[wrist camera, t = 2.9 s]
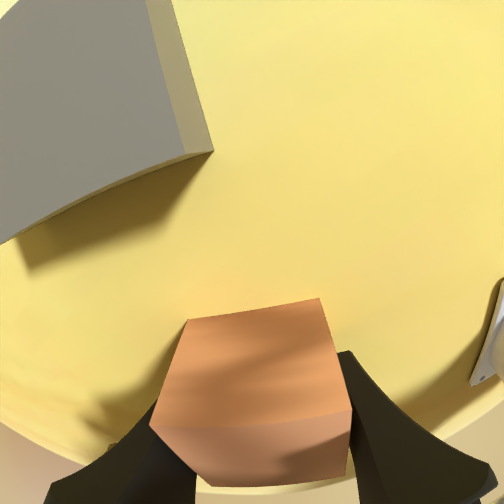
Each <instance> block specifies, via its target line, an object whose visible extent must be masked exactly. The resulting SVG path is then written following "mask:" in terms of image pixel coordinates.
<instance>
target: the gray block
mask: <svg viewBox="0 0 504 504" xmlns="http://www.w3.org/2000/svg"><path fill="white" fill-rule="evenodd" d="M211 151H214V148H213V144H212V141H211V138H210V134H209V131H208V127H207V124H206V120H205V117H204V114H203V110H202V107H201V103H200V100H199V96H198V93H197V89H196V86H195V83H194V79H193V76H192V72H191V69H190V65H189V62H188V58H187V55H186V51H185V48H184V44H183V41H182V37H181V34H180V30H179V26H178V23H177V19H176V16H175V12H174V9H173V5H172V1H171V0H19V1H18V2H17V3H16V4H15V5H14V6H13V7H12V8H11V9H10V10H9V11H8V12H7V13H6V14H5V15H4V16H3V17H2V18H1V19H0V245H1V244H3V243H5V242H7V241H9V240H10V239H12V238H14V237H16V236H18V235H20V234H21V233H23V232H25V231H27V230H29V229H31V228H33V227H35V226H37V225H39V224H41V223H43V222H44V221H46V220H48V219H50V218H52V217H54V216H56V215H57V214H59V213H61V212H63V211H65V210H67V209H69V208H71V207H73V206H75V205H77V204H79V203H81V202H83V201H85V200H87V199H90V198H92V197H94V196H96V195H98V194H100V193H103V192H105V191H107V190H109V189H112V188H114V187H116V186H118V185H121V184H123V183H126V182H128V181H130V180H133V179H135V178H138V177H140V176H143V175H145V174H148V173H151V172H153V171H156V170H158V169H161V168H164V167H167V166H169V165H172V164H175V163H178V162H181V161H184V160H186V159H189V158H192V157H195V156H199V155H202V154H205V153H208V152H211Z"/></svg>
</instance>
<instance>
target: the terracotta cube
mask: <svg viewBox="0 0 504 504" xmlns="http://www.w3.org/2000/svg"><path fill="white" fill-rule="evenodd" d="M351 418H352V407H351V403H350V399H349V396H348V392H347V388H346V385H345V381H344V377H343V374H342V370H341V367H340V363H339V360H338V357H337V353H336V350H335V347H334V343H333V340H332V337H331V333H330V330H329V327H328V324H327V321H326V317H325V314H324V311H323V308H322V305H321V302H320V299H319V298H316V299H311V300H306V301H300V302H295V303H290V304H285V305H279V306H273V307H268V308H262V309H256V310H250V311H244V312H238V313H231V314H224V315H218V316H211V317H204V318H196V319H188V320H187V323H186V325H185V328H184V331H183V333H182V336H181V338H180V341H179V343H178V346H177V349H176V351H175V354H174V357H173V359H172V362H171V365H170V367H169V370H168V373H167V375H166V378H165V381H164V384H163V386H162V389H161V392H160V395H159V397H158V400H157V403H156V406H155V409H154V412H153V414H152V417H151V420H150V423H149V425H150V427H151V428H152V429H153V430H154V431H155V432H156V433H157V434H158V436H159V437H160V438H161V439H162V440H163V441H164V442H165V443H166V444H167V445H168V446H169V447H170V448H171V449H172V450H173V451H174V452H175V453H176V454H177V455H178V456H179V457H180V458H181V459H182V460H183V461H184V462H185V463H186V464H187V465H188V466H189V467H190V468H191V469H192V470H193V471H194V472H196V473H197V474H198V475H199V476H200V477H201V478H202V479H203V480H205V481H206V482H207V483H208V484H209V485H211V486H214V487H263V486H278V485H289V484H298V483H306V482H313V481H319V480H325V479H330V478H336V477H340V476H345V470H346V463H347V456H348V448H349V439H350V429H351Z"/></svg>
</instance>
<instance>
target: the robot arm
mask: <svg viewBox="0 0 504 504" xmlns="http://www.w3.org/2000/svg"><path fill="white" fill-rule="evenodd" d="M337 357H338V360H339V363H340V367H341V370H342V374H343V377H344V381H345V385H346V388H347V392H348V396H349V399H350V403H351V407H352V418H351V429H350V439H349V447H350V450H351V454H352V457H353V461H354V466H355V472H356V478H357V484H358V491H359V499H360V504H481V502H480V498H481V497H483V496H484V495H486V494H487V493H489V492H490V491H491V490H493V489H494V488H496V487H497V485H498V481H497V479H496V476H495V474H494V472H493V470H492V469H491V467H490V465H489V464H488V463H486V462H483V461H481V460H478V459H476V458H473V457H471V456H469V455H467V454H465V453H463V452H461V451H459V450H457V449H455V448H453V447H451V446H450V445H448V444H446V443H445V442H443V441H442V440H440V439H438V438H437V437H435V436H434V435H432V434H431V433H429V432H428V431H426V430H425V429H424V428H422V427H421V426H420V425H418V424H417V423H416V422H415V421H413V420H412V419H411V418H410V417H409V416H407V415H406V414H405V413H404V412H403V411H402V410H401V409H400V408H399V407H398V406H397V405H395V404H394V403H393V402H392V401H391V400H390V399H389V398H388V397H387V395H386V394H385V393H384V392H383V391H382V390H381V389H380V388H379V387H378V386H377V384H376V383H375V382H374V381H373V380H372V379H371V378H370V376H369V375H368V374H367V373H366V371H365V370H364V369H363V367H362V366H361V365H360V363H359V362H358V361H357V359H356V358H355V356H354V355H353V353H352V352H351V351H349V350H348V351H344V352H340V353H337ZM496 373H497V374H498V376H499V377H500V379H501V380H502V382H503V383H504V280H503V282H502V284H501V287H500V291H499V295H498V299H497V303H496V307H495V311H494V314H493V318H492V321H491V325H490V328H489V331H488V334H487V337H486V340H485V343H484V346H483V348H482V351H481V354H480V356H479V359H478V361H477V364H476V366H475V369H474V371H473V373H472V376H471V378H470V380H469V383H470V385H471V386H475V385H477V384H479V383H481V382H483V381H484V380H486V379H488V378H490V377H491V376H493V375H495V374H496ZM157 400H158V399H157ZM157 400H156V401H155V403H154V404H153V405H152V406H151V408H150V409H149V410H148V411H147V413H146V414H145V415H144V416H143V417H142V418H141V419H140V421H139V422H138V423H137V424H136V425H135V426H134V427H133V428H132V429H131V431H130V432H129V433H128V434H127V435H126V436H125V437H124V438H122V439H121V440H120V441H119V442H118V443H117V444H116V445H115V446H114V447H112V448H111V449H110V450H109V451H107V452H106V453H105V454H103V455H102V456H101V457H99V458H98V459H97V460H95V461H94V462H92V463H91V464H89V465H88V466H86V467H84V468H83V469H81V470H79V471H78V472H76V473H74V474H72V475H70V476H67V477H65V478H63V479H60V480H58V481H56V482H53V483H52V484H51V486H50V489H49V491H48V493H47V496H46V498H45V501H44V503H43V504H195V492H196V478H197V473H196V472H194V471H193V470H192V469H191V468H190V467H189V466H188V465H187V464H186V463H185V462H184V461H183V460H182V459H181V458H180V457H179V456H178V455H177V454H176V453H175V452H174V451H173V450H172V449H171V448H170V447H169V446H168V445H167V444H166V443H165V442H164V441H163V440H162V439H161V438H160V437H159V436H158V434H157V433H156V432H155V431H154V430H153V429H152V428H151V427H150V425H149V423H150V420H151V417H152V414H153V412H154V409H155V406H156V403H157ZM490 504H504V494H503V495H502V496H500V497H499V498H497V499H496V500H494V501H493V502H492V503H490Z"/></svg>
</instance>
